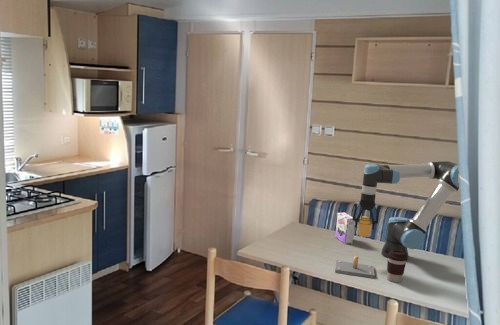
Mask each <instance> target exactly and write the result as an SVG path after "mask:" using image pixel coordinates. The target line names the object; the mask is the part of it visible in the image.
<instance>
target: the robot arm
mask: <svg viewBox="0 0 500 325" xmlns="http://www.w3.org/2000/svg"><path fill="white" fill-rule="evenodd" d="M403 178H404V179H405V178H427V179H432V180H437V182H438V183H437V185H436V186H435V187H434V189H433V191H432V192H431V193H430V194H429V196H428V197H427V199H425V201H424V203H423V204H422V205H421V206H420V208H419V209H418V211H416V213H415V215H414V216H413V218H407V217H399V216H391V217H389V219H388V221H387V232H386V239H385V242H384V245H383V247H382V249H381V256H384V257H385V258H387V259H388V257H387V253H388V252H391V251H392V250H400V251H403V252H404V253H405V255H407V256H408V257H409V251H408V249H409V250H416V249H418V248H420V247H422V246H423V244H424V243H425V236H426V233H427V232H428V231H427V228H428V226H429V225H430V223H431V222H432V220H434V218H435V217H436V215H437V214H438V213H439V211H440V210H441V209H442V207H443V206H444V205H445V203H446V202H447V201H448V199H449V198H450V197H451V195H452V194H454V193H457V192H458V191H459V190H460V188H459V183H458V163H456V162H452V161H447V160H446V161H429V162H427V163H418V164H417V163H416V164H415V163H413V164H412V163H411V164H410V163H409V164H379V163H377V164H376V163H374V164H371V163H368V164H366V165H365V166H364V170H363V178H362V186H361V193H360V201H359V202H358V201H355V202H354V211H353V214H352V217H353V221H355V228H356V235H358V230H359V219H360V218H361V217H362V214H363V212H364V211H369V215H370V220H371V228H370V237H371V236H372V231H374V230H375V225H376V224H379V212H380V211H379V210H380V209H381V206H380V204H377V203H376V202H375V201H376V194H377V187H378V184H390V185H393V184H398V183H399V182H400V180H401V179H403ZM359 205H360V210H359V212H358V214H357V210H358V207H359ZM374 207H375V209H376V210H375V218H374V213H373V208H374ZM356 215H357V216H356Z"/></svg>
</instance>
